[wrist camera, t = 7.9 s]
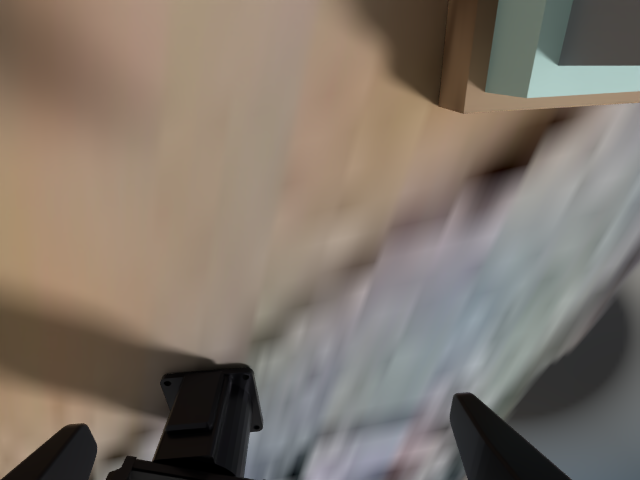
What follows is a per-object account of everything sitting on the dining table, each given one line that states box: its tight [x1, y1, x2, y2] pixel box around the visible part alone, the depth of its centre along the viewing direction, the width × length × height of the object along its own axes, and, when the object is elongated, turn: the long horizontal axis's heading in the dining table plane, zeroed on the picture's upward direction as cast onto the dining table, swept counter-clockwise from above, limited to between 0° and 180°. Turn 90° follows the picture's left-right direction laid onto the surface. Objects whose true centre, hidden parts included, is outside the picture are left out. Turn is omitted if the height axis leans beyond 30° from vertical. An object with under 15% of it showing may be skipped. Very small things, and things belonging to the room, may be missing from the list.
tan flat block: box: [439, 0, 640, 114], centre depth 15 cm, size 8×8×3 cm
